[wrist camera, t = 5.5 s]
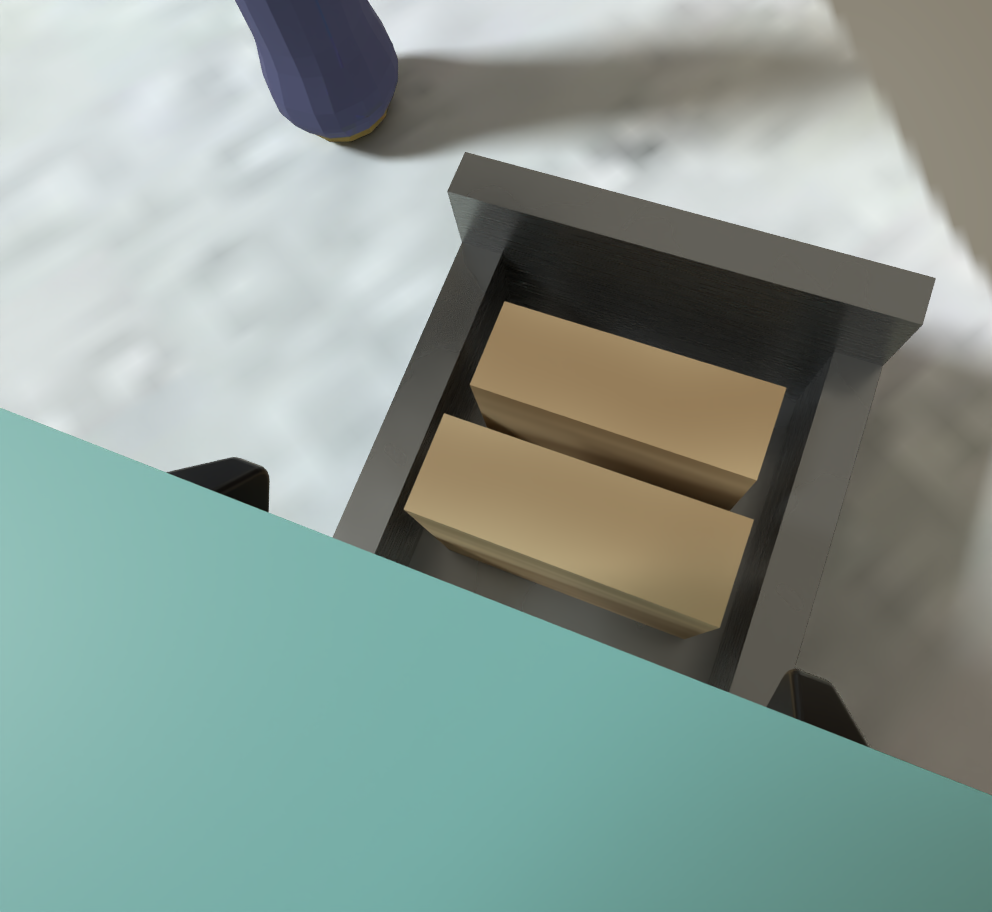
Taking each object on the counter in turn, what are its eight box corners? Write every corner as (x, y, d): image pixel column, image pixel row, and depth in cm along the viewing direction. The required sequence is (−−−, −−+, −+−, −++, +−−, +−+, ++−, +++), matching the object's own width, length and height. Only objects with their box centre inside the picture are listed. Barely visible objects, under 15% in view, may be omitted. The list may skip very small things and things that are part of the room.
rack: (672, 944, 18) (720, 1092, 11) (291, 767, 20) (155, 812, 13) (837, 398, 21) (946, 281, 14) (491, 293, 23) (456, 149, 16)
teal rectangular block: (653, 825, 13) (971, 1525, 2) (334, 687, 14) (-429, 723, 3) (691, 708, 13) (1106, 840, 3) (377, 583, 14) (-184, 337, 4)
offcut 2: (684, 639, 18) (720, 627, 13) (449, 549, 19) (403, 509, 14) (710, 559, 18) (754, 519, 14) (478, 476, 20) (443, 413, 15)
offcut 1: (721, 519, 19) (756, 480, 15) (492, 440, 20) (469, 384, 16) (746, 444, 19) (786, 387, 15) (520, 371, 20) (504, 301, 16)
